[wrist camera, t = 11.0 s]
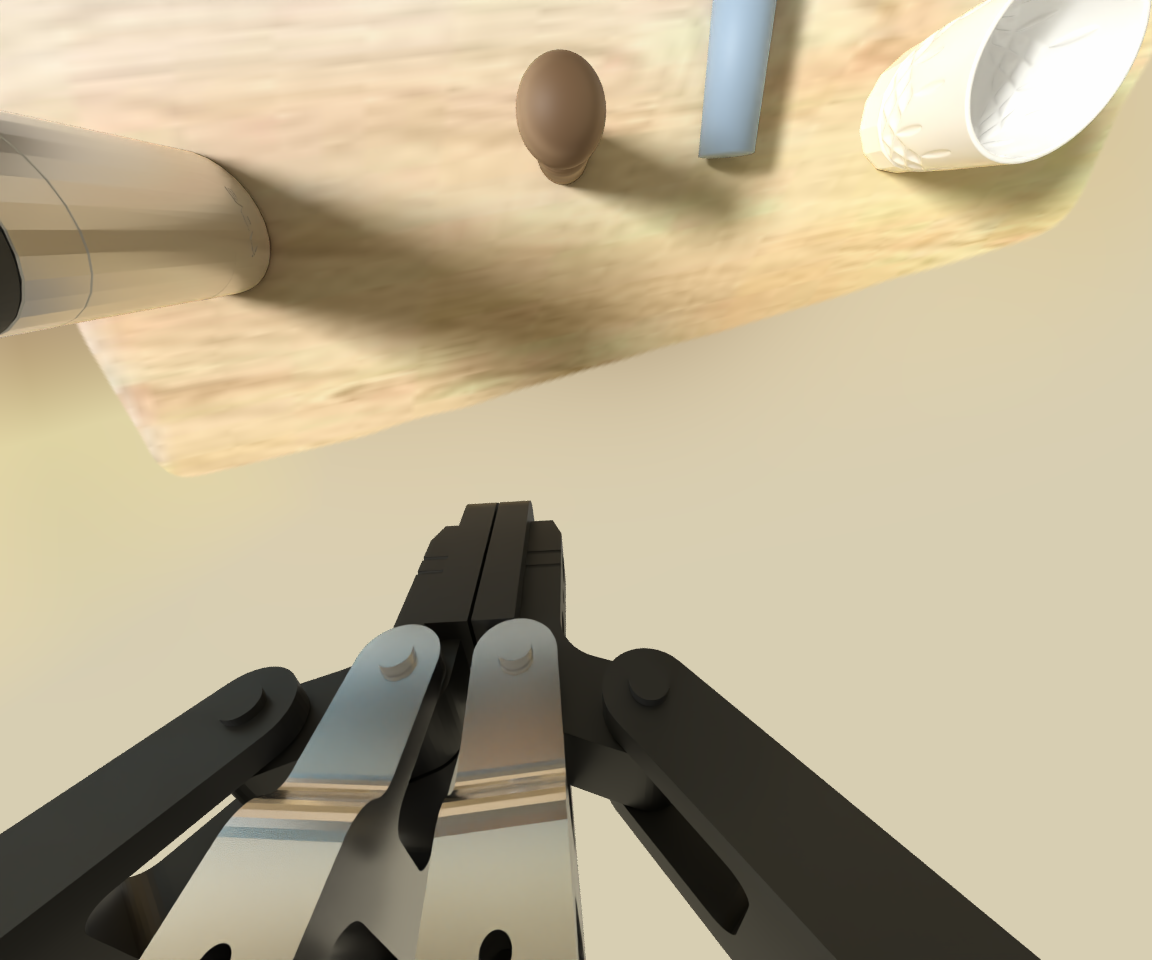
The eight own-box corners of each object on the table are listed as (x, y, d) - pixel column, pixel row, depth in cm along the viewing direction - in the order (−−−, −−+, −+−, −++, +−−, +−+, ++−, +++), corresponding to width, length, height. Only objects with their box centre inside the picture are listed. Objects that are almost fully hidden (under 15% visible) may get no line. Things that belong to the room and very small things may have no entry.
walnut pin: (536, 191, 31) (517, 166, 19) (529, 116, 29) (504, 36, 17) (593, 187, 31) (610, 160, 19) (591, 112, 28) (609, 28, 17)
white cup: (975, 139, 30) (1143, 102, 21) (861, 206, 32) (972, 196, 23) (966, 0, 26) (1163, -113, 18) (838, 84, 28) (959, 19, 19)
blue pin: (704, 151, 27) (740, -223, 19) (687, 160, 30) (712, -153, 23) (770, 148, 27) (830, -225, 19) (745, 157, 30) (788, -155, 23)
